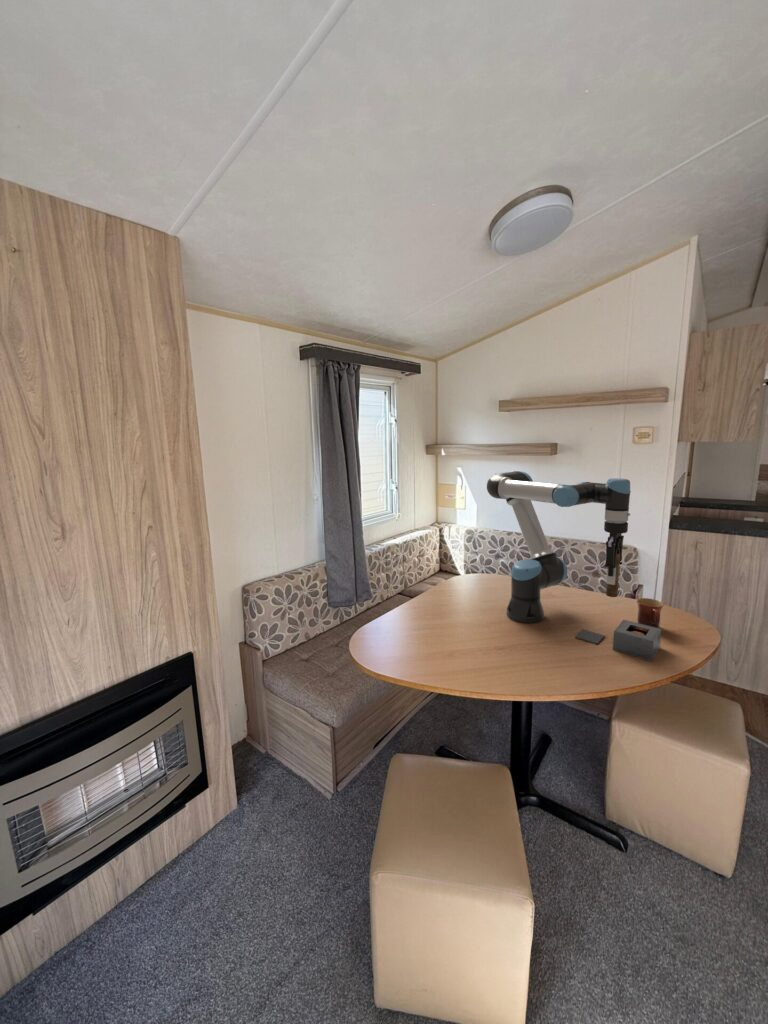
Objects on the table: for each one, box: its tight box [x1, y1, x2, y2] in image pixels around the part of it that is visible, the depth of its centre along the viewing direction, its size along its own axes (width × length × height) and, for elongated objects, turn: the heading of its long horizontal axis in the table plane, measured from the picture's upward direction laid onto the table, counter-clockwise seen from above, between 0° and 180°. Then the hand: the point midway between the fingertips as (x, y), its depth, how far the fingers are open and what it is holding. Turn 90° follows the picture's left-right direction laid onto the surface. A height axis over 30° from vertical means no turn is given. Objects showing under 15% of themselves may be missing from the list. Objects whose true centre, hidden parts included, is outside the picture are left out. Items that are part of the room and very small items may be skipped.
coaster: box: [574, 628, 605, 646], centre depth 156 cm, size 8×8×1 cm
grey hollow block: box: [612, 619, 662, 662], centre depth 146 cm, size 12×12×7 cm
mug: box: [636, 597, 664, 629], centre depth 160 cm, size 12×9×10 cm
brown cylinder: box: [605, 553, 621, 598], centre depth 154 cm, size 4×4×16 cm
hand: (612, 582), depth 154 cm, fingers closed on brown cylinder, 4 cm apart
